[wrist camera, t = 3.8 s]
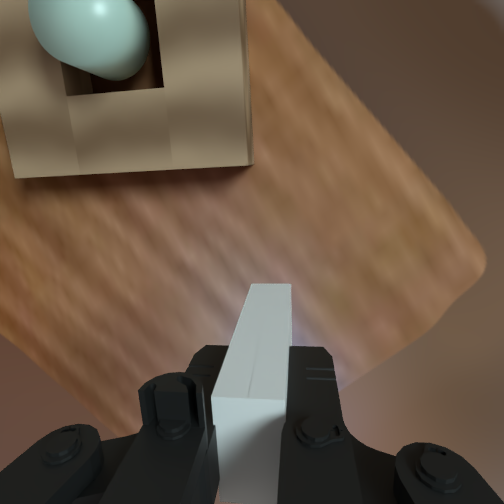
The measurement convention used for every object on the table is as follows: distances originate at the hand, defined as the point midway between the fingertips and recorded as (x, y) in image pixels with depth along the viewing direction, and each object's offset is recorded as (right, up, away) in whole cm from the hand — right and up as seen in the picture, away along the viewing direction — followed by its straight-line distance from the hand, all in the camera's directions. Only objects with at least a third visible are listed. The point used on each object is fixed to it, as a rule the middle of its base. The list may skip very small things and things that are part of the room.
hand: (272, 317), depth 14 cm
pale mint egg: (-11, +19, +13) cm, 26 cm away
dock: (-11, +20, +16) cm, 28 cm away
